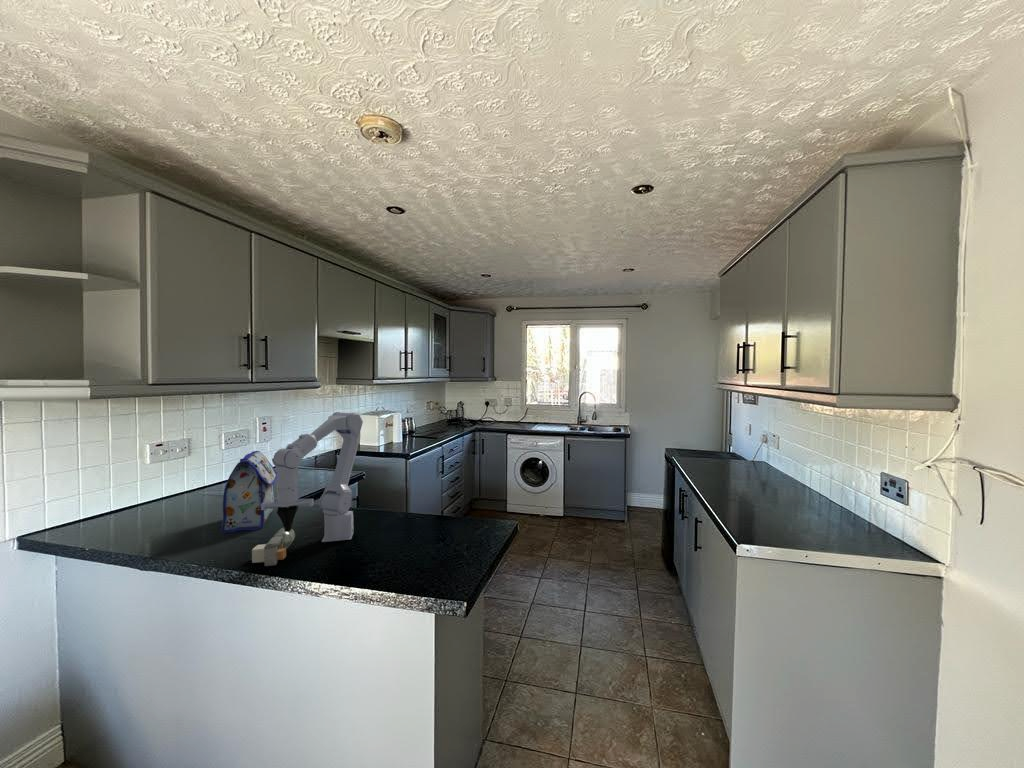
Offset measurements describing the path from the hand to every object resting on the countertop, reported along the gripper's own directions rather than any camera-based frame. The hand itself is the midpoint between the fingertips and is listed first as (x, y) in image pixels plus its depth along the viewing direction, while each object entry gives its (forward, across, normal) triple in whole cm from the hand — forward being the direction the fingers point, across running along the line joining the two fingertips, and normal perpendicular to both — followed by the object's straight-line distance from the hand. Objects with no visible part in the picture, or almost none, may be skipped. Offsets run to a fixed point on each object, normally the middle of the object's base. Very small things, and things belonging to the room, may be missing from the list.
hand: (288, 530), depth 132 cm
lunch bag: (+9, -23, +41) cm, 48 cm away
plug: (+8, -5, 0) cm, 10 cm away
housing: (+8, -4, +4) cm, 10 cm away
